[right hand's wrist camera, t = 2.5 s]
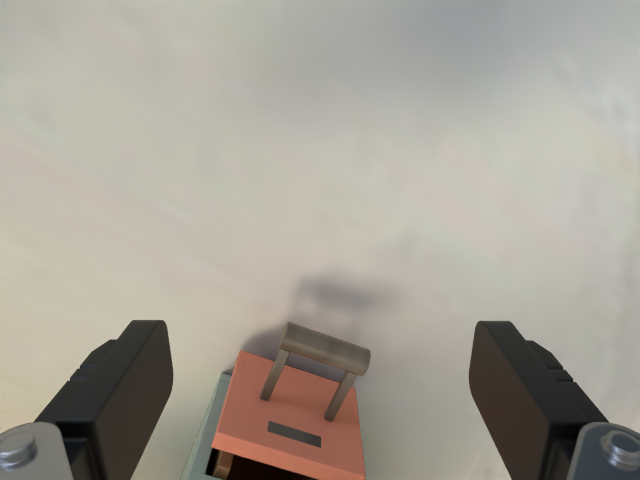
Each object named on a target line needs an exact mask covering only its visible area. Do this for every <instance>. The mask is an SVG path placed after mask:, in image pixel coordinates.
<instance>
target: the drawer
mask: <svg viewBox="0 0 640 480" xmlns="http://www.w3.org/2000/svg"><path fill="white" fill-rule="evenodd" d="M279 348H280V350H279V352H278V354H277V356H276V359H275V361H272V360H269V359H266V358H263V357H260V356H257V355H254V354H251V353H248V352H245V351H242V350H241V351H240V352H239V355H238V357H237V360H236V362H235V366H234V369H233V373H232V376H231V380H230V383H229V386H228V390H227V393H226V397H225V400H224V404H223V407H222V411H221V414H220V418H219V421H218V424H217V428H216V431H215V435H214V438H213V442H212V445H211V447H212V452H211V455H210V459H209V462H208V466H207V469H206V473H205V475H209V476H212V477H216V478H219V479H222V480H365V478H366V475H365V466H364V458H363V450H362V441H361V433H360V425H359V416H358V408H357V400H356V391H355V388H353V387H351V386H352V384H353V382H354V380H355V378H356V376H357V374H358V375H363V374H364V373H365V372H366V370H367V368H368V366H369V362H370V356H371V354H370V350H368V349H366V348H363V347H360V346H357V345H354V344H351V343H348V342H346V341H343V340H340V339H337V338H334V337H331V336H328V335H325V334H323V333H320V332H317V331H314V330H311V329H308V328H305V327H302V326H300V325H297V324H294V323H291V322H287V323H286V325H285V327H284V329H283V332H282V335H281V338H280V342H279ZM290 352H293V353H296V354H299V355H302V356H305V357H308V358H311V359H314V360H317V361H320V362H323V363H326V364H329V365H332V366H335V367H338V368H341V369H343V370H346V372H345V374H344V376H343V378H342V379H341V381H340V383H338V382H335V381H332V380H329V379H326V378H323V377H320V376H317V375H314V374H311V373H308V372H305V371H302V370H299V369H296V368H293V367H290V366H287V365H285V363H286V361H287V359H288V356H289V354H290Z"/></svg>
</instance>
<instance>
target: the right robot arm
mask: <svg viewBox="0 0 640 480" xmlns="http://www.w3.org/2000/svg"><path fill="white" fill-rule="evenodd" d="M469 384H470V390H471V394H472V397H473V399H474V401H475V403H476V405H477V407H478V409H479V411H480V414H481V416H482V418H483V420H484V422H485V424H486V426H487V428H488V430H489V432H490V435H491V437H492V439H493V441H494V443H495V445H496V447H497V449H498V451H499V453H500V456H501V458H502V460H503V462H504V464H505V466H506V468H507V470H508V472H509V474H510V477H511V479H512V480H640V434H639V433H637V432H635V431H633V430H631V429H629V428H626V427H624V426H621V425H617V424H613V423H609V421H608V420H607V419H606V418H605V417H604V415H603V414H602V413H601V412H600V411H599V409H598V408H597V407H596V406H595V405H594V403H593V402H592V401H591V400H590V399H589V397H588V396H587V395H586V394H585V393H584V392H583V390H582V389H581V388H580V387H579V386H578V384H577V383H576V382H573V378H572V377H571V376H570V375H569V374H568V372H567V371H566V370H563V366H562V365H561V364H560V363H559V362H558V360H557V359H556V358H555V357H554V356H553V354H552V353H551V352H549V351H548V350H546V349H545V348H543V347H542V346H540V345H539V344H537V343H536V342H534V341H526V340H525V339H524V338H523V337H522V335H521V334H520V333H519V331H518V330H517V329H516V328H515V326H514V325H513V324H512V323H511V322H510V321H479V322H478V323H477V325H476V328H475V334H474V341H473V348H472V355H471V362H470V369H469ZM172 385H173V366H172V359H171V352H170V345H169V338H168V330H167V326H166V323H165V322H164V321H163V320H133V321H131V323H130V324H129V325H128V326H127V328H126V329H125V330H124V331H123V333H122V334H121V335H120V337H119V338H118V339H117V340H109V341H107V342H106V343H104V344H103V345H101V346H100V347H98V348H97V349H95V350H94V351H92V352H91V353H90V355H89V356H88V357H87V358H86V359H85V361H84V362H83V363H82V364H81V365H80V369H77V370H76V371H75V373H74V374H73V375H72V376H71V377H70V381H67V382H66V384H65V385H64V386H63V387H62V388H61V390H60V391H59V392H58V393H57V394H56V396H55V397H54V398H53V399H52V400H51V402H50V403H49V404H48V405H47V406H46V408H45V409H44V410H43V411H42V412H41V414H40V415H39V416H38V417H37V419H36V420H35V421H34V422H33V423H27V424H23V425H19V426H16V427H14V428H11V429H9V430H7V431H5V432H3V433H1V434H0V480H130V479H131V477H132V475H133V473H134V471H135V469H136V467H137V464H138V462H139V460H140V458H141V456H142V454H143V452H144V450H145V447H146V445H147V443H148V441H149V439H150V437H151V435H152V433H153V430H154V428H155V426H156V424H157V422H158V420H159V418H160V416H161V413H162V411H163V409H164V407H165V405H166V403H167V401H168V399H169V396H170V394H171V390H172Z"/></svg>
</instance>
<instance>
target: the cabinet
mask: <svg viewBox="0 0 640 480" xmlns="http://www.w3.org/2000/svg"><path fill="white" fill-rule="evenodd" d="M230 380H231V376H230V375H227V374H224V373H222V374H221V376H220V379H219V381H218V384H217V387H216V389H215V392H214V394H213V397H212V399H211V402H210V404H209V407H208V409H207V412H206V415H205V417H204V420H203V422H202V425H201V427H200V430H199V432H198V435H197V437H196V440H195V443H194V445H193V448H192V450H191V453H190V455H189V458H188V460H187V463H186V465H185V468H184V471H183V473H182V476H181V478H180V480H222V479H219V478H216V477H212V476H209V475H205V473H206V469H207V466H208V462H209V459H210V455H211V452H212V447H211V445H212V442H213V438H214V435H215V431H216V428H217V424H218V421H219V418H220V414H221V411H222V407H223V404H224V400H225V397H226V393H227V390H228V386H229V383H230Z"/></svg>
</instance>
